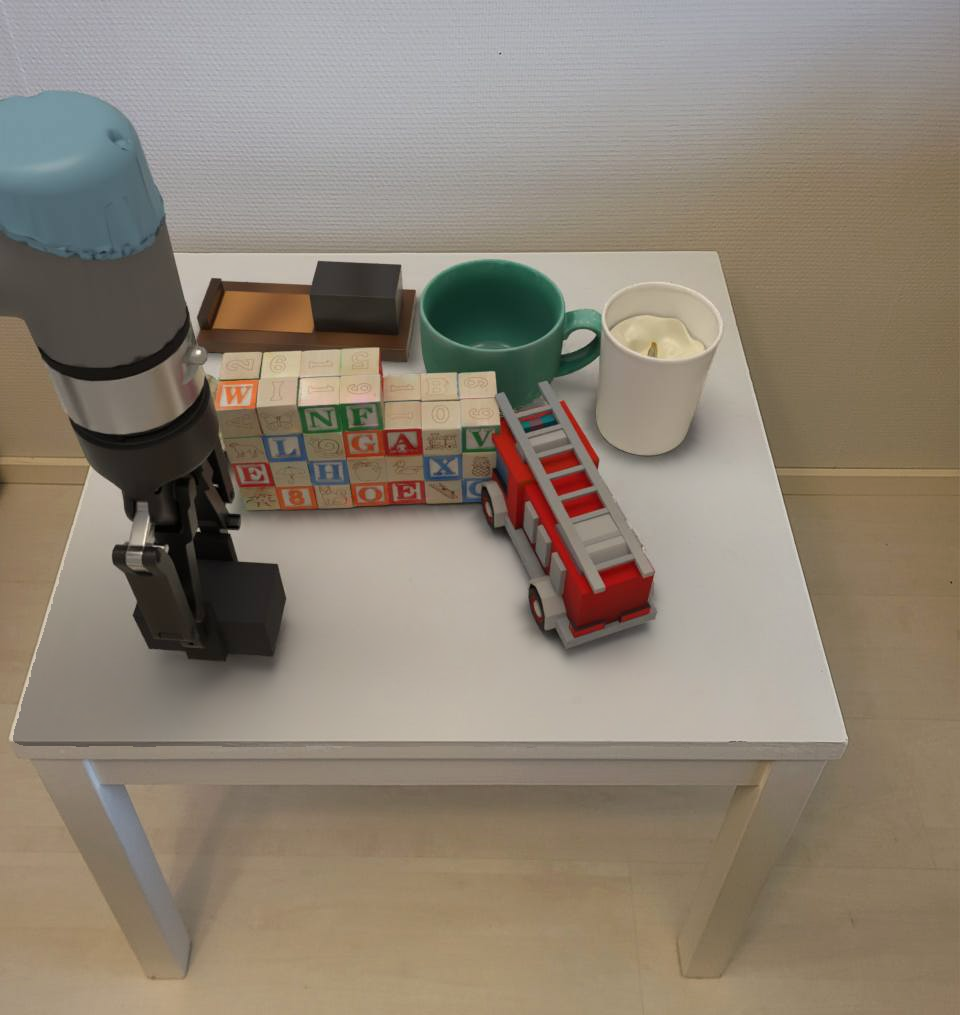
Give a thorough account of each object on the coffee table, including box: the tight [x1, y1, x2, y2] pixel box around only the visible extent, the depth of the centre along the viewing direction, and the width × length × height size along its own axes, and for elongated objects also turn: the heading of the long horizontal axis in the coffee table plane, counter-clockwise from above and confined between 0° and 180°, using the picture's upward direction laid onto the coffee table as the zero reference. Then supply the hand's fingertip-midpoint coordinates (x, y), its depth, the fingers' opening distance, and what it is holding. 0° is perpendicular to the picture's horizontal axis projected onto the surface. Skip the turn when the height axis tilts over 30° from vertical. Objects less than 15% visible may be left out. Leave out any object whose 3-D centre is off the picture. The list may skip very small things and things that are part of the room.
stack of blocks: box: [215, 348, 501, 511], centre depth 78 cm, size 21×6×12 cm, turn 93°
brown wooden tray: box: [196, 260, 417, 363], centre depth 92 cm, size 20×9×6 cm, turn 87°
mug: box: [418, 258, 602, 413], centre depth 86 cm, size 17×13×10 cm
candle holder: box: [595, 281, 725, 456], centre depth 82 cm, size 10×10×12 cm
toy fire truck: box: [480, 381, 658, 650], centre depth 74 cm, size 9×19×10 cm, turn 21°
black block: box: [132, 559, 287, 658], centre depth 69 cm, size 9×5×4 cm, turn 87°
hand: (217, 621), depth 70 cm, fingers closed on black block, 5 cm apart
